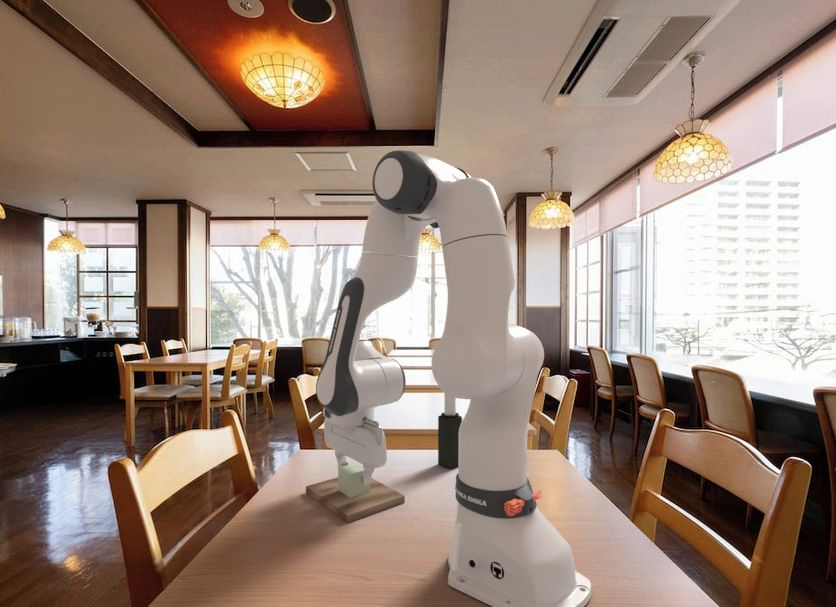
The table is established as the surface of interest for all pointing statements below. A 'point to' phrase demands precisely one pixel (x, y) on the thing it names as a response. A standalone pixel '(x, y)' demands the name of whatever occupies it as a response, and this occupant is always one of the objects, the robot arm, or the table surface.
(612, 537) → the table surface
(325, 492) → the serving board
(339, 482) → the cube
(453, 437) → the black and grey rod
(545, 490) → the table surface
